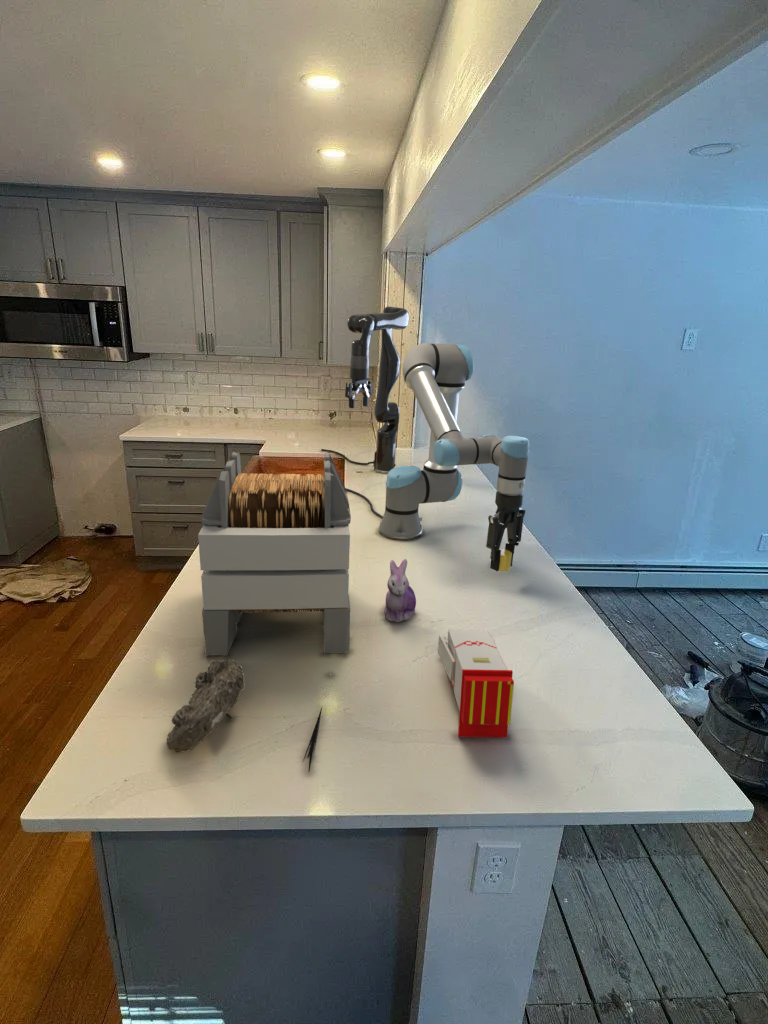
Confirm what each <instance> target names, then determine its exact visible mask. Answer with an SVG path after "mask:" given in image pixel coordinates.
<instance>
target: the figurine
mask: <svg viewBox="0 0 768 1024" xmlns="http://www.w3.org/2000/svg"><path fill="white" fill-rule="evenodd" d="M407 567H408V559H406V558H404V559H403V560H402V561H401V563H400V565H399V566H398V565H397V563H396V562H395V561H394V560H393V559H391V560H390V561H389V570H390V576H389V578H388V579H387V589H388V591H387V592H386V594H385V595H386V596H385V607H384V615H385V616H386V620H387V621H391V622H395V623H400V622H402V621H406V620H409V619H410V618H411V617H413V616H414V615H415V610H416V606H417V597H416V593H415V591H414V590H413V587H411V586H410V582H409V579H408V577H407V574H406V571H407Z"/></svg>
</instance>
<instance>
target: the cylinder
mask: <svg viewBox="0 0 768 1024" xmlns="http://www.w3.org/2000/svg"><path fill="white" fill-rule="evenodd" d="M499 550H501V556H500V564H499V571H498V572H502V573H503V572H509V571H510V570H511V567H510V565H511V557H512V553H511V552H510V551H508V550H505V548H499Z"/></svg>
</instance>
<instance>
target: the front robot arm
mask: <svg viewBox="0 0 768 1024" xmlns="http://www.w3.org/2000/svg"><path fill="white" fill-rule="evenodd" d="M474 369H475V361H474V357H473V354H472V352H471V350H470V349H469V347H468V346H466V345H465V344H458V343H429V342H424V343H419V344H417V345H415V346H413V347H412V348H411V349H410V350H409V351H408V352H407V353H406V355H405V357H404V359H403V363H402V377H403V380H404V382H405V384H406V387H407V388H408V389H410V390H412V392H413V394H414V396H415V398H416V401H417V403H418V405H419V408H420V409H421V412H422V413H423V416H424V418H425V420H426V423H427V424H428V426H429V429H430V434H429V447H428V449H429V450H428V458H427V460H425V461H424V462H423V469H421V467H419V466H416V465H400V466H395V468H393V469H391V470H390V471H389V472H388V473H386V474H387V475H386V480H385V504H384V505H385V507H384V508H385V509H384V513H383V515H382V514H380V513H378V512H377V511H376V510H375V509H374V507H373V503H372V502H371V501H370V500H369V498H367V497H366V496H365V495H363V494H362V493H360V492H358V491H355V490H353V489H350V488H347V487H345V488H346V490H347V492H350V493H352V494H355V495H357V496H359V497H361V498H362V499H364V500H365V501H366V502H367V503H368V504H369V507H370V510H371V512H372V513H373V514H374V515H376V516H377V517H379V518H381V522H379V526H378V533H379V534H380V535H381V536H382V537H385V538H387V539H389V540H395V541H410V540H415V539H418V538H420V537H421V536H422V535H423V525H422V524H421V522H422V521H423V516H420V515H419V507H420V506H419V505H420V504H421V505H422V504H430V503H431V504H433V503H446V502H451V501H454V500H456V498H458V497H459V495H460V494H461V491H462V487H463V478H462V477H463V476H462V473H461V471H460V469H458V466H468V465H470V466H471V465H486V464H492V465H494V466H497V467H498V474H497V480H496V492H495V499H494V503H495V505H496V511H495V513H494V514H493V515H491V514H489V515H488V517H487V518H488V519H487V520H488V527H487V536H486V544H485V547H486V548H488V549H490V557H489V558H490V563H489V569H491V570H493V571H495V572H500V571H499V564H500V556H501V550H499V549H501V545H502V540H503V537H504V534H505V531H506V536H507V542H506V543H505V546H504V549H505V550H508V551H510V552H511V553H512V557H511V565H510V568H512V566H513V561H514V560H513V559H514V554H515V550H516V547H518V546H519V545H520V542H521V541H522V535H523V525H524V517H525V514H526V510H525V509H523V508H521V507H522V506H523V501H524V494H523V493H524V491H525V483H526V477H527V469H528V464H529V463H528V461H529V456H530V440H529V439H528V438H527V437H525V436H519V435H506V436H504V437H502V438H500V437H498V436H496V435H494V434H482V435H481V436H479V437H469V438H468V437H464V435H463V434H462V432H461V430H460V428H459V425H458V424H457V423H458V412H459V402H460V401H459V400H460V392H461V391H462V390H463V389H464V388H465V385H466V382H468V381H470V379H471V378H472V376H473V374H474Z"/></svg>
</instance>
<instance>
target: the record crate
mask: <svg viewBox="0 0 768 1024" xmlns="http://www.w3.org/2000/svg"><path fill="white" fill-rule="evenodd" d="M241 463H242V462H241V453H240V452H235V451H233V452H231V455H230V457H229V459H227V460H226V463H225V466H224V468H223V470H222V471H220V474H219V475H218V477H217V479H216V482H215V483H214V486H213V489H212V491H211V494H210V495H209V498H208V499H207V502H206V505H205V507H204V509H203V511H202V514H201V517H200V520H201V524H202V527H201V529H200V530H199V532H198V535H197V538H198V550H199V552H198V553H199V563H200V565H199V567H200V571H202V573H201V575H200V580H201V581H200V582H201V594H202V605H203V607H202V609H201V610H202V611H201V617H202V629H203V638H204V639H203V640H204V649H205V650H204V651H205V652H204V655H205V656H206V657H212V656H228V654H229V652H230V650H231V647H232V645H233V643H234V640H235V638H236V635H237V632H238V623H240V620H241V617H242V614H244V613H250V614H251V613H253V614H254V613H257V614H258V613H298V612H301V613H302V612H308V613H309V612H322V614H323V654H344V655H346V654H347V653H349V652H350V639H351V604H350V595H349V594H350V593H349V586H350V585H349V584H350V572H349V571H350V570H349V569H350V549H351V548H350V547H351V545H350V542H351V533H350V532H351V531H350V526H349V525H350V524H351V520H352V516H351V515H352V514H351V509H350V502H349V496H348V491H347V490H346V488H347V487H346V486H345V484H344V482H343V480H342V478H341V474H340V473H339V471H338V469H337V466H336V465H335V462H334V460H333V458H332V455H331V454H330V453H329V452H328V453H326V452H324V453H323V473H322V474H321V473H318V474H316V475H315V474H314V473H306V474H303V475H302V474H301V473H280V474H273V473H244V472H243V473H242V466H241Z"/></svg>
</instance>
